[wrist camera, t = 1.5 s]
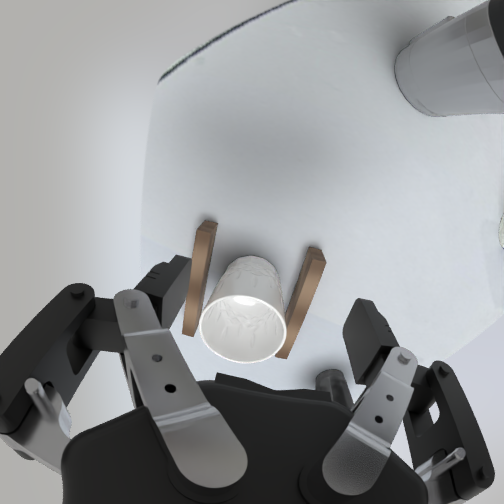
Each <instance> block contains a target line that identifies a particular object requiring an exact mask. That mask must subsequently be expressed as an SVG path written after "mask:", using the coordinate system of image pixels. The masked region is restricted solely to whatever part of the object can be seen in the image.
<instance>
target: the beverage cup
mask: <svg viewBox="0 0 504 504" xmlns="http://www.w3.org/2000/svg"><path fill="white" fill-rule="evenodd" d="M315 390H317V391H326V392H330V393H331V400H332V401H335V402H337V403H340V404H341V405H343V406H345V407H347V408H348V409H350V410H351V408H352V407H353V405H354V403H353V400H352V397H351V394H350V391H349V388H348V385H347V383H346V380H345V378H344V375H343V373H342V372H341V371H339V370H334V369H332V370H327V371H324V372H322V373H320V374H319V375H318V376H317V378H316V388H315Z"/></svg>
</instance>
